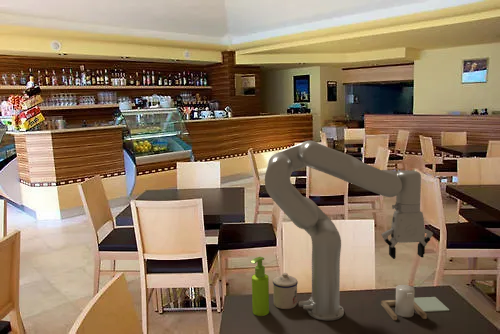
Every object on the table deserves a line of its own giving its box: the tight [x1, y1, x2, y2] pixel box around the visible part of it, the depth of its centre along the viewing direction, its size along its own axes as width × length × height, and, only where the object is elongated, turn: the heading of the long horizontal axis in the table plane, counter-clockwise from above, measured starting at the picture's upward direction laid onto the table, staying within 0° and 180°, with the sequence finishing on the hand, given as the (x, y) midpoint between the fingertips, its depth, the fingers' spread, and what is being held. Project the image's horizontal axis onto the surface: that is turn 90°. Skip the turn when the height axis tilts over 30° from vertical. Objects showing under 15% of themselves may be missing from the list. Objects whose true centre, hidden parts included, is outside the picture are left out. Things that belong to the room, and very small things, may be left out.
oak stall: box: [380, 299, 428, 321], centre depth 144 cm, size 11×11×2 cm
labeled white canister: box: [394, 284, 416, 318], centre depth 143 cm, size 6×8×9 cm
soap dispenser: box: [250, 256, 270, 317], centre depth 145 cm, size 6×7×20 cm
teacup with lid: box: [272, 272, 299, 310], centre depth 153 cm, size 12×9×12 cm
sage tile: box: [414, 296, 450, 313], centre depth 149 cm, size 10×10×1 cm
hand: (406, 256), depth 141 cm, fingers open, 9 cm apart
